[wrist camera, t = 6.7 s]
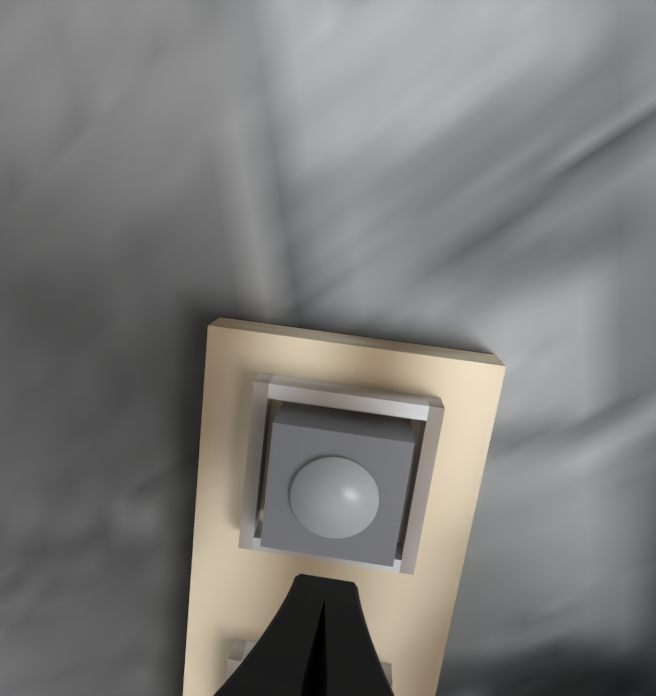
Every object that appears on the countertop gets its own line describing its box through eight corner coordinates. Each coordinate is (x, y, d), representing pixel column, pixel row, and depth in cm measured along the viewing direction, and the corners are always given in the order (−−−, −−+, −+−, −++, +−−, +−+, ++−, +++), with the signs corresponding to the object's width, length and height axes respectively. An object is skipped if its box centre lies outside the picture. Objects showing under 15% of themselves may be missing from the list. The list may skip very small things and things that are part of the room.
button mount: (495, 355, 19) (513, 375, 17) (406, 781, 24) (410, 845, 21) (219, 317, 19) (198, 331, 17) (188, 744, 24) (168, 802, 22)
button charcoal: (410, 419, 18) (415, 445, 16) (390, 531, 19) (393, 569, 17) (283, 401, 18) (272, 424, 16) (270, 513, 19) (259, 549, 17)
